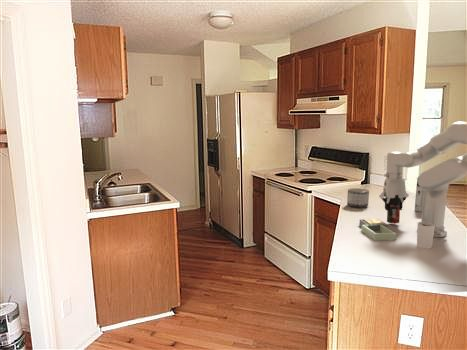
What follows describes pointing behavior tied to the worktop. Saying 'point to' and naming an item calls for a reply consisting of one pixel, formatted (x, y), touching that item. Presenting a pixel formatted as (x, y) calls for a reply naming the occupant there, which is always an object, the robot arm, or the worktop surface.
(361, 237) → the worktop surface
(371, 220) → the cradle plate
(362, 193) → the planter
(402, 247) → the worktop surface
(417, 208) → the spray can
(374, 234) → the trough
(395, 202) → the deodorant
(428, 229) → the white square cup
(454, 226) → the worktop surface
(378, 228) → the cradle housing
